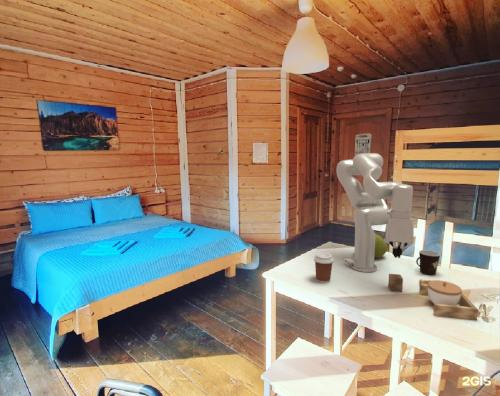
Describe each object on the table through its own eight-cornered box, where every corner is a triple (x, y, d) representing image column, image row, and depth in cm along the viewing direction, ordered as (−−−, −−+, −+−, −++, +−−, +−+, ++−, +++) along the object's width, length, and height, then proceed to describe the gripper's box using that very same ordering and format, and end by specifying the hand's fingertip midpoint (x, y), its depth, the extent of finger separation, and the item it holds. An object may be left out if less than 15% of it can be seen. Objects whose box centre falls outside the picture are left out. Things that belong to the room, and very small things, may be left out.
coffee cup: (309, 278, 137) (309, 253, 135) (323, 274, 141) (324, 250, 139) (322, 285, 129) (323, 260, 127) (337, 281, 133) (338, 256, 131)
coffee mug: (432, 269, 145) (434, 250, 143) (442, 276, 137) (444, 256, 135) (408, 268, 146) (409, 249, 145) (416, 275, 138) (417, 255, 136)
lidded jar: (420, 299, 116) (421, 277, 115) (444, 297, 117) (447, 275, 116) (440, 313, 106) (442, 289, 104) (467, 311, 107) (469, 287, 105)
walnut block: (390, 291, 123) (391, 277, 122) (388, 286, 127) (389, 273, 126) (402, 292, 122) (403, 278, 121) (399, 287, 126) (400, 274, 125)
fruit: (381, 251, 171) (392, 233, 162) (379, 268, 160) (391, 249, 151) (354, 241, 175) (363, 222, 166) (350, 256, 164) (360, 237, 155)
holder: (434, 315, 105) (435, 305, 104) (413, 284, 129) (414, 275, 128) (476, 320, 101) (478, 309, 101) (446, 287, 126) (447, 278, 125)
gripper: (382, 215, 118) (378, 258, 121) (423, 217, 114) (419, 261, 117) (378, 211, 125) (376, 252, 128) (418, 213, 121) (414, 255, 124)
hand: (396, 256), depth 122 cm, fingers closed
